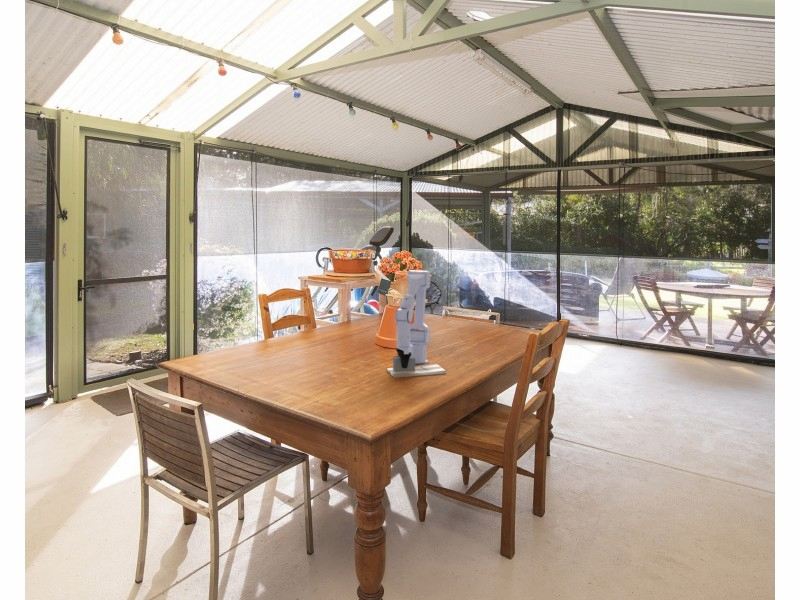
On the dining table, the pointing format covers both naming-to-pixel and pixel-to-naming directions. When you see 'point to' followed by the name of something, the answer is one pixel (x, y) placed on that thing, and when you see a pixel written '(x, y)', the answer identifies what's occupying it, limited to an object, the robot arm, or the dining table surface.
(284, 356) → the dining table surface
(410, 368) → the block
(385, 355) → the dining table surface
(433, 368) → the cream flat panel
